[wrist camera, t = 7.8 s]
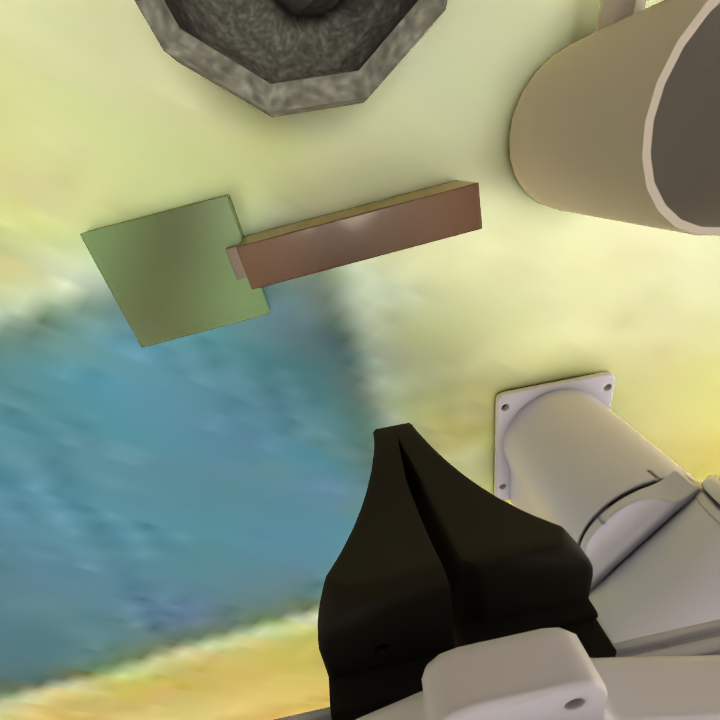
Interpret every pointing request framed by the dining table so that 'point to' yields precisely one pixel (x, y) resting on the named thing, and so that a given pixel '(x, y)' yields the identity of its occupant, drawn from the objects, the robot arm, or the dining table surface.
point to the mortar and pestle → (291, 46)
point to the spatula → (255, 255)
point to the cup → (629, 119)
